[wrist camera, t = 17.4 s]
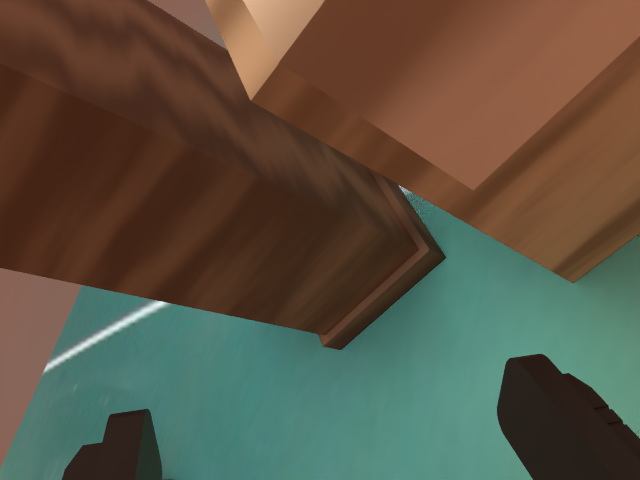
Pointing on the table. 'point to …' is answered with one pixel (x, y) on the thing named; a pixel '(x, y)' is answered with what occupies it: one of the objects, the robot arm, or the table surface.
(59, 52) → the tall walnut stand
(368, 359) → the table surface
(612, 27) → the brown wooden block
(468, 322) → the table surface
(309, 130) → the light wooden pillar block
